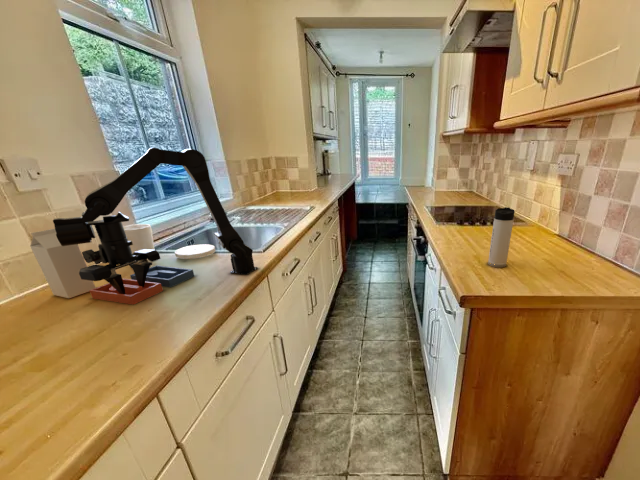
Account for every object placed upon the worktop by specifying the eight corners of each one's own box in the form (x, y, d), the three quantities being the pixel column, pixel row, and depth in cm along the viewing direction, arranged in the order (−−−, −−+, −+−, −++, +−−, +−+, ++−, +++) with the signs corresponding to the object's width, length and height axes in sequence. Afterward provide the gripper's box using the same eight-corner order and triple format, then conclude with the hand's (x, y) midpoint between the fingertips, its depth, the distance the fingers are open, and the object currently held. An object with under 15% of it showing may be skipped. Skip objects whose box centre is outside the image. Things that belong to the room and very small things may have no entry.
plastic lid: (182, 251, 131) (181, 245, 130) (219, 248, 134) (218, 243, 133) (171, 262, 119) (169, 256, 118) (211, 259, 122) (210, 253, 121)
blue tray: (194, 276, 106) (192, 269, 105) (170, 287, 98) (168, 279, 97) (158, 272, 110) (156, 265, 109) (132, 282, 102) (129, 275, 101)
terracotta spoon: (149, 291, 94) (146, 284, 93) (134, 298, 90) (131, 290, 89) (122, 287, 97) (119, 280, 96) (106, 294, 93) (103, 286, 92)
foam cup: (129, 266, 115) (116, 231, 110) (132, 259, 123) (121, 225, 117) (160, 261, 120) (149, 227, 114) (161, 255, 127) (151, 222, 122)
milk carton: (96, 289, 97) (71, 228, 89) (69, 299, 91) (39, 234, 83) (81, 286, 99) (55, 226, 91) (53, 295, 93) (23, 232, 85)
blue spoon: (182, 276, 105) (180, 270, 104) (170, 282, 101) (168, 275, 100) (157, 273, 107) (155, 267, 106) (144, 278, 103) (142, 272, 102)
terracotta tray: (163, 290, 96) (160, 283, 95) (133, 304, 88) (130, 296, 87) (124, 285, 100) (121, 278, 99) (92, 298, 91) (89, 290, 90)
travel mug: (508, 263, 116) (517, 208, 108) (503, 269, 111) (512, 211, 103) (490, 260, 119) (498, 206, 111) (485, 265, 114) (493, 209, 106)
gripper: (125, 229, 96) (141, 276, 103) (52, 246, 80) (77, 302, 86) (153, 231, 94) (168, 280, 100) (84, 250, 77) (108, 307, 84)
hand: (133, 291), depth 93 cm, fingers open, 5 cm apart
